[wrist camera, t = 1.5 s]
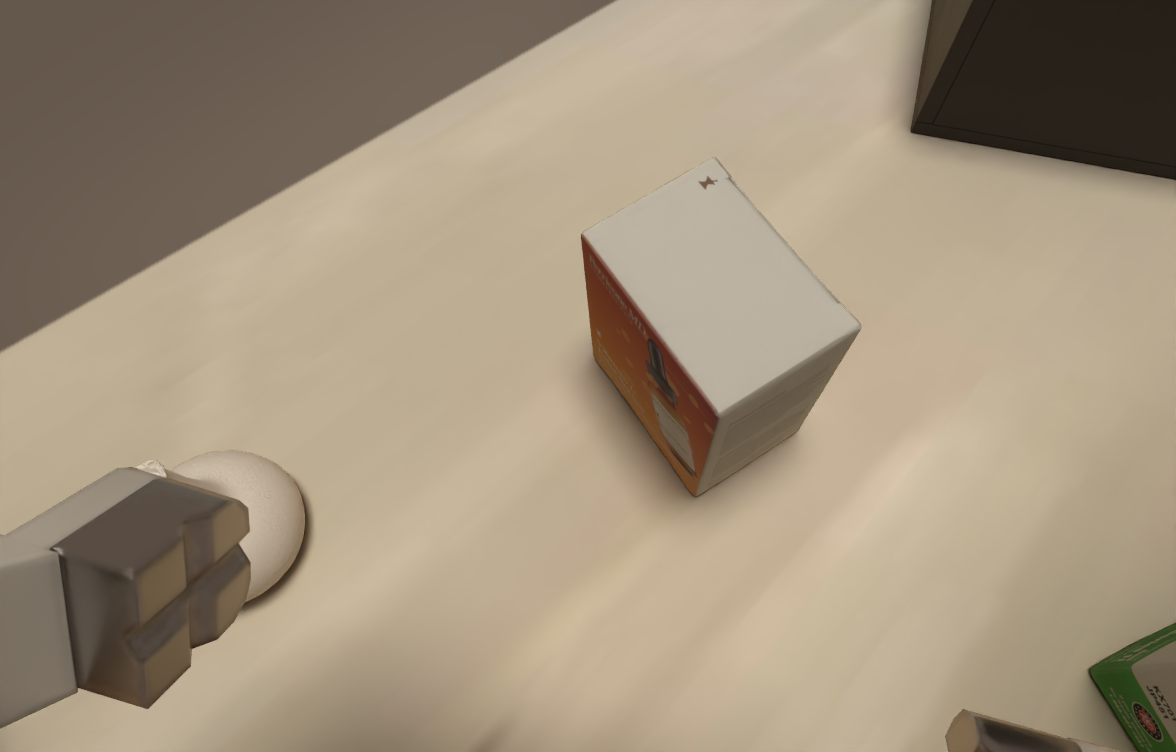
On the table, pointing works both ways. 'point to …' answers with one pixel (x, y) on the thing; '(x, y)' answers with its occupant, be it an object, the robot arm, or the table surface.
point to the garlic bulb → (251, 507)
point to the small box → (710, 323)
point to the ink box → (1143, 689)
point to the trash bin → (1054, 79)
